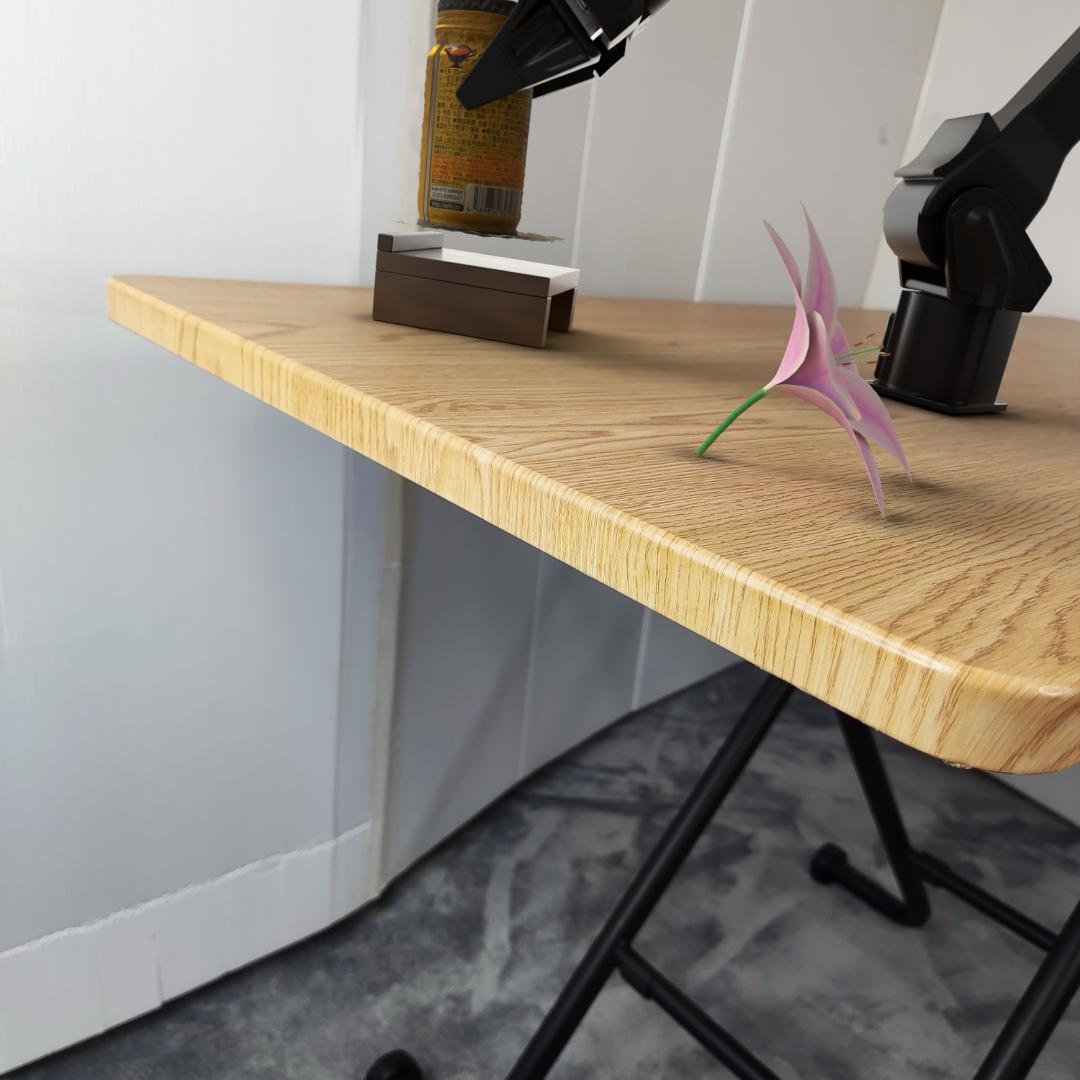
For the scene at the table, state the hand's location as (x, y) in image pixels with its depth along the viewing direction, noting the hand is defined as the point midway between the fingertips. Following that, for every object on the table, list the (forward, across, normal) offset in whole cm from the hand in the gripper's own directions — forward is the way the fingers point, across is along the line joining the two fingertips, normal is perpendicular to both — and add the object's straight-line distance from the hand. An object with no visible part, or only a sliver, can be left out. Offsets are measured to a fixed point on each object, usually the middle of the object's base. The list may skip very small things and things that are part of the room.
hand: (466, 107), depth 53 cm
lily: (-2, +23, +21) cm, 31 cm away
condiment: (+4, 0, +6) cm, 7 cm away
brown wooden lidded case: (+8, -6, +10) cm, 14 cm away
